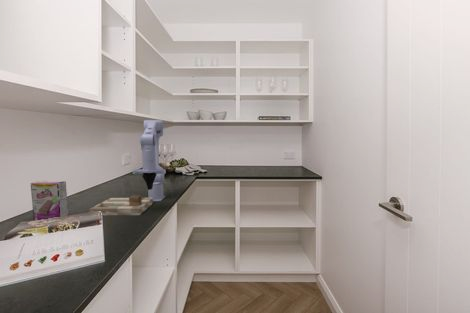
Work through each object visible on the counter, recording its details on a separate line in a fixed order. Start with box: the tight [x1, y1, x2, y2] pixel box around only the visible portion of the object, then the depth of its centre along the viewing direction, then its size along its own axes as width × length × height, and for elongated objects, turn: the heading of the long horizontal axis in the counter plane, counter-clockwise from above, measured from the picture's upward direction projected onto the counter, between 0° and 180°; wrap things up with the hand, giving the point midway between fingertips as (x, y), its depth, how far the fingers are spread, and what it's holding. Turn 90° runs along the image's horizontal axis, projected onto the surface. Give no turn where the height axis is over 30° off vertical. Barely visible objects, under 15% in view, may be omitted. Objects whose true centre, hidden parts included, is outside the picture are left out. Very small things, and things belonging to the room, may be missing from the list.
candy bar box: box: [30, 180, 69, 221], centre depth 97 cm, size 11×5×16 cm, turn 92°
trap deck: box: [89, 197, 154, 216], centre depth 112 cm, size 18×22×3 cm
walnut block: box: [128, 194, 142, 206], centre depth 108 cm, size 4×4×4 cm
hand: (150, 189), depth 108 cm, fingers closed
